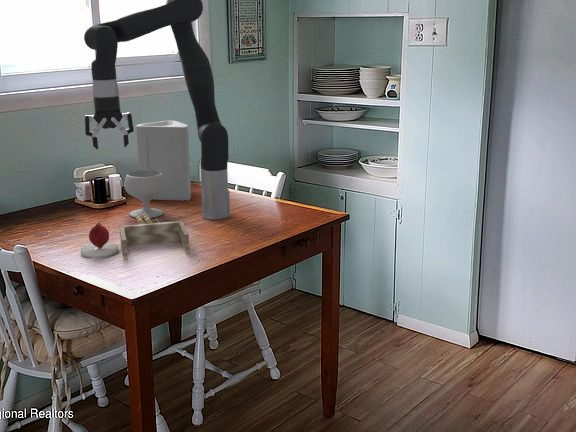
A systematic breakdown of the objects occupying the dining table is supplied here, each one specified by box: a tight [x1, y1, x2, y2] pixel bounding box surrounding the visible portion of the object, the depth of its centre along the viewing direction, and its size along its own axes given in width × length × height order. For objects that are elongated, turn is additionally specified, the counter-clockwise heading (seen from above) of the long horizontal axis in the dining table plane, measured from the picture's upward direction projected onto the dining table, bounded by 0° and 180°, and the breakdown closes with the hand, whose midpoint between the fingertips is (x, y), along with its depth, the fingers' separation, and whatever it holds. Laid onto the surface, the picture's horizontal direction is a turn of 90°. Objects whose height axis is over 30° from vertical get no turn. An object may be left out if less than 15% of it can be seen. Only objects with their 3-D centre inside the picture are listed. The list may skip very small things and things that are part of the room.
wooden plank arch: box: [119, 220, 191, 261], centre depth 208 cm, size 19×14×6 cm
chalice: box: [123, 169, 165, 219], centre depth 242 cm, size 14×14×15 cm
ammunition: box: [135, 213, 161, 225], centre depth 228 cm, size 5×7×8 cm
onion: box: [88, 221, 110, 248], centre depth 205 cm, size 6×6×8 cm
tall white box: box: [135, 120, 192, 201], centre depth 266 cm, size 19×15×28 cm
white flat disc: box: [80, 241, 120, 259], centre depth 207 cm, size 11×11×1 cm
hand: (111, 147), depth 212 cm, fingers open, 8 cm apart
